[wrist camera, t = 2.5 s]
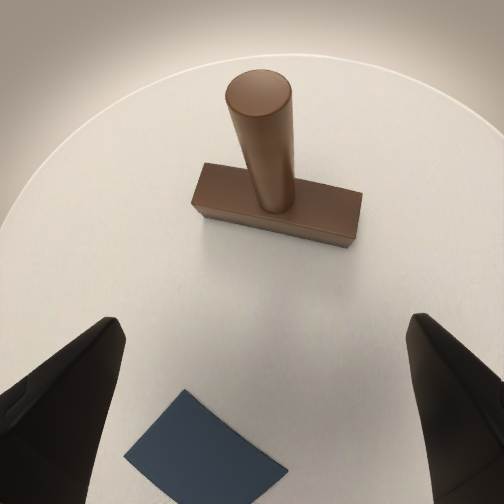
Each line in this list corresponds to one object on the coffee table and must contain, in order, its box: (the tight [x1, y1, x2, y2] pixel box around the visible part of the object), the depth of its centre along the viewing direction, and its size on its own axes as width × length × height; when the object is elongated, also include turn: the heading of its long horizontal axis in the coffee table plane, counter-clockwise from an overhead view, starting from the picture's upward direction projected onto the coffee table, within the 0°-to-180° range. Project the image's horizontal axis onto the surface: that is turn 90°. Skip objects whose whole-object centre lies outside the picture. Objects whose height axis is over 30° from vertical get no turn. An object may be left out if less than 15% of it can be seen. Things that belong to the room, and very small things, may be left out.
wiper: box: [191, 70, 363, 248], centre depth 17 cm, size 3×11×14 cm, turn 75°
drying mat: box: [124, 389, 288, 504], centre depth 20 cm, size 10×9×1 cm
